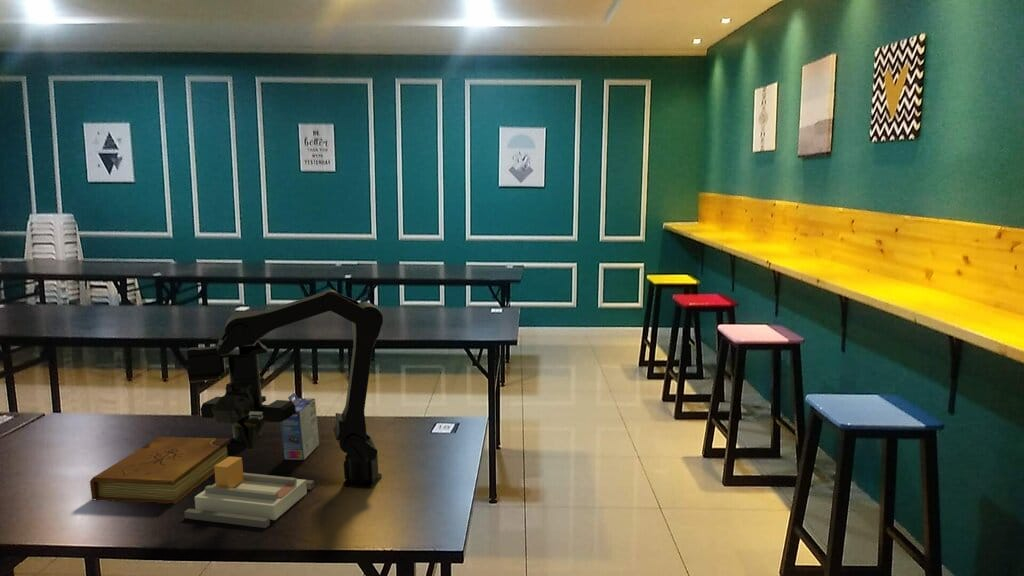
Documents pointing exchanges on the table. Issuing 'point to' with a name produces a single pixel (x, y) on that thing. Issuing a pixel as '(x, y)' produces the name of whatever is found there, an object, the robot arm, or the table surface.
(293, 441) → the ink cartridge box
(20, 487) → the table surface
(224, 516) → the grey base plate
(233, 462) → the handle
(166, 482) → the diary
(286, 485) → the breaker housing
